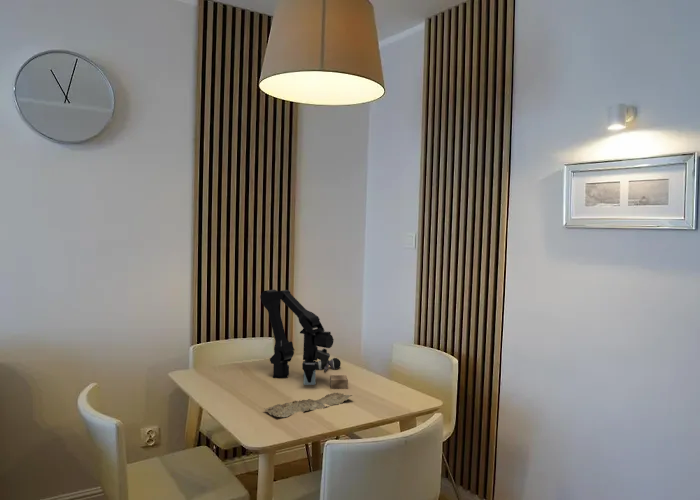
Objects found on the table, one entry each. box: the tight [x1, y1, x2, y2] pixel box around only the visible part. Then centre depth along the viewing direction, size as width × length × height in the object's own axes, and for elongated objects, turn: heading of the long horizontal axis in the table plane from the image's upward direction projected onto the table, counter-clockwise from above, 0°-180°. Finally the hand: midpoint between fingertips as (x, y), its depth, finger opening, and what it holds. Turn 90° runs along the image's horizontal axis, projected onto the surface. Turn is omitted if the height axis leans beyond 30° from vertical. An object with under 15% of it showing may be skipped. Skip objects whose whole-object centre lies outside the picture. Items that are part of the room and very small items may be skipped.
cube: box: [303, 370, 317, 386], centre depth 225 cm, size 5×5×5 cm
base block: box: [329, 374, 349, 390], centre depth 221 cm, size 7×7×4 cm
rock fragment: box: [263, 392, 353, 418], centre depth 196 cm, size 34×10×3 cm, turn 129°
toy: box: [317, 357, 342, 373], centre depth 248 cm, size 16×5×15 cm
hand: (309, 380), depth 225 cm, fingers closed on cube, 5 cm apart
